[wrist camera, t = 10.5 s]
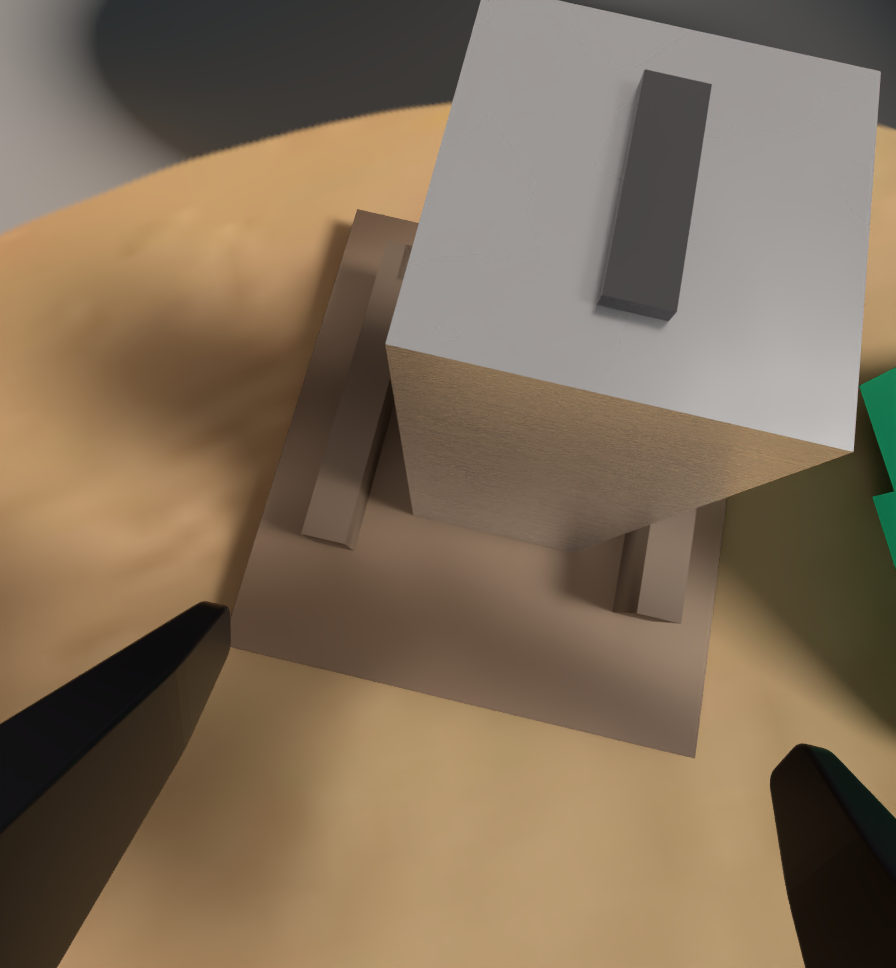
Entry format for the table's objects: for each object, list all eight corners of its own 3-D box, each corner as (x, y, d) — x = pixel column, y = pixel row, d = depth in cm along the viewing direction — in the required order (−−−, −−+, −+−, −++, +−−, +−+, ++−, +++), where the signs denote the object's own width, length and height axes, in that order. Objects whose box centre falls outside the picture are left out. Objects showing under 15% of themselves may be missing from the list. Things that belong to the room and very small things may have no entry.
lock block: (571, 552, 17) (868, 447, 6) (413, 515, 17) (383, 334, 6) (598, 403, 18) (894, 56, 7) (449, 368, 18) (486, -34, 7)
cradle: (679, 749, 17) (732, 779, 14) (234, 642, 17) (193, 650, 14) (735, 313, 20) (788, 264, 17) (360, 228, 20) (349, 164, 17)
